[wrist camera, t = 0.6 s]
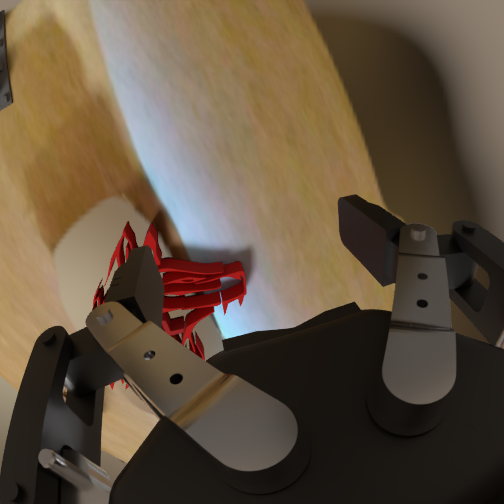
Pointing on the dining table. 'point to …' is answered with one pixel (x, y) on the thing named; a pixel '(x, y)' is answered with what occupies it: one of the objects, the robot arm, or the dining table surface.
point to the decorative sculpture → (182, 288)
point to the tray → (4, 68)
